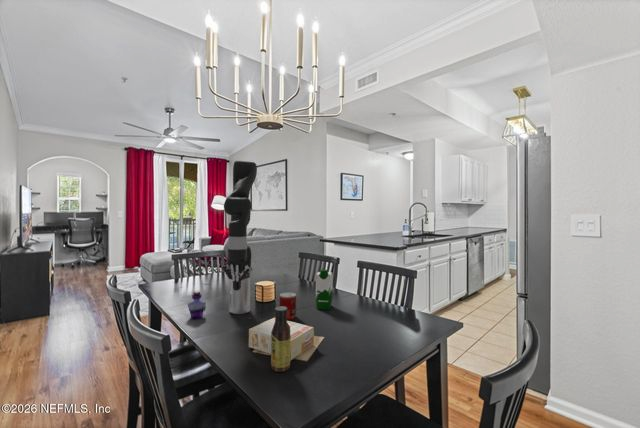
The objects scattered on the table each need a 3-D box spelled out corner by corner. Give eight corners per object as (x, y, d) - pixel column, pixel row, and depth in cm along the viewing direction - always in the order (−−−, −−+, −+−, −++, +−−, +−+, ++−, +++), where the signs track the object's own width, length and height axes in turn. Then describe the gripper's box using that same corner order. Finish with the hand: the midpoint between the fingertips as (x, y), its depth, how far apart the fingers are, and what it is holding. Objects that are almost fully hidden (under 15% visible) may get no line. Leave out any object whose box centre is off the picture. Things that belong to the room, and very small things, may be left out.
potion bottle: (209, 317, 146) (209, 292, 146) (191, 322, 140) (191, 295, 140) (201, 313, 152) (201, 288, 152) (183, 317, 146) (183, 292, 146)
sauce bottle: (271, 363, 103) (272, 304, 103) (290, 362, 103) (290, 304, 103) (270, 374, 96) (270, 311, 96) (290, 373, 97) (290, 310, 97)
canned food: (293, 320, 142) (293, 297, 142) (277, 319, 144) (277, 296, 144) (298, 315, 150) (298, 292, 150) (282, 314, 152) (282, 291, 151)
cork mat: (252, 352, 111) (252, 351, 111) (276, 331, 130) (276, 330, 130) (307, 361, 105) (307, 360, 105) (324, 337, 124) (324, 337, 124)
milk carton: (314, 309, 158) (315, 271, 158) (316, 304, 167) (316, 267, 167) (331, 310, 157) (332, 271, 157) (332, 304, 166) (333, 268, 166)
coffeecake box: (248, 347, 114) (290, 361, 104) (248, 328, 114) (290, 340, 104) (274, 334, 127) (314, 345, 116) (274, 316, 126) (314, 326, 116)
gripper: (217, 247, 122) (217, 290, 123) (246, 249, 118) (246, 294, 118) (229, 245, 129) (228, 286, 130) (256, 247, 125) (256, 289, 125)
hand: (236, 290), depth 124 cm, fingers closed
